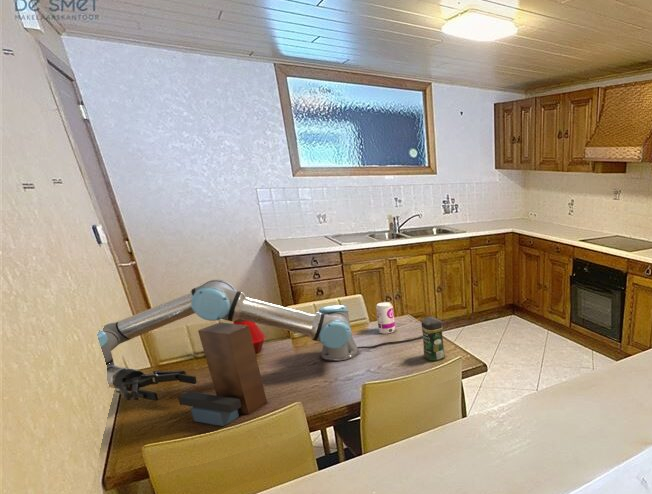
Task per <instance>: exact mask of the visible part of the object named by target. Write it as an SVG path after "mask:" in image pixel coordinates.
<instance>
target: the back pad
mask: <svg viewBox="0 0 652 494" xmlns="http://www.w3.org/2000/svg"><path fill="white" fill-rule="evenodd" d="M177 400H178V402H179V405H181V406H186V407H191V408H192V407H198V408H204V409H211V410H217V411H223V412H229V413H232V412H234V411H235V410H237V409H239V408H240V407H242V406H241V402H240V399H236V398H230V397H223V396H217V395H216V394H210V393H204V392H197V391H190V390H189V391H187V392H184V393H183V394H181V395H178V396H177Z"/></svg>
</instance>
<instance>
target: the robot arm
mask: <svg viewBox="0 0 652 494" xmlns="http://www.w3.org/2000/svg"><path fill="white" fill-rule="evenodd" d="M318 311H319V313H318V314H316V313H315V314H312V313H309V312H304V311H301V310H296V309H293V308H289V307H285V306H281V305H278V304H274V303H271V302H270V303H269V302H266V301H262V300H258V299H254V298H252V297H251V298H250V297H247V296H246V295H245V293H244V292H243V291H239V290H236V288H235V287H234V286H233V285H232V284H231V283H230V282H228V281H226V280H223V279H211V280H208V281H206V282H205V283H202V284H201V285H199V286H196V287H194V288H191V290H190V292H189V293H187V294H184V295H182V296H179V297H176V298H173V299H171V300H169V301H166V302H164V303H161V304H159V305H155V306H154V307H151V308H148V309H146V310H144V311H143V310H142V311H141V312H138V313H136V314H133V315H131V316H128V317H125V318H123V319H121V320H118V321H116V322H110V323H107V324H105V325H103V326H104V328H103V331H100V330H99V329H98V330H99V332H98V334H97V336H98V340H99V343H100V346H101V349H102V352H103V355H104V358H105V362H106V365H107V381H108V384H109V387H108V388H110V387H111V389H115V393H117V394H120V395H121V397H122V398H123V399H124V401H126V402H127V401H130V400H131V399H132V400H133V401H135V402H136V401H138V400H139V399H143V400H149V401H155V402H156V401H158V400H159V397H158V393H157V392H156V391H151V390H146V389H140V388H145V387H148V386H150V385H158V384H159V383H166V382H176V381H178V382H179V383H186V384H191V385H196V384H197V378H196V376H195V375H190V374H187V373H186V370H154V371H152V373H151V374H150V373H149V374H147V373H144V372H142V371H141V370H139V369H134V368H129V367H122V366H116V365H115V362H114V357H113V354H112V351H113V350H115V348H117V347H118V346H119V345H121V344H123V343H126V342H128V341H130V340H132V339H135V338H138V337H140V336H142V335H145V334H147V333H150V332H152V331H155V330H158V329H159V328H162V327H164V326H167V325H169V324H172V323H174V322H177V321H179V320H182V319H184V318H187V317H189V316H192V315H195V314H196V316H198V317H199V318H201V319H202V320H206V321H209V322H215V321H221V320H223V321H226V322H227V321H228V322H232V323H234V321H236V320H238V319H241V320H246V321H250V322H254V323H255V324H257V325H258V324H259V325H263V326H267V327H271V328H275V329H280V330H284V331H289V332H292V333H297V334H302V335H305V336H308V337H309V338H310V340H311V341H313V342H314V341H315V342H319V343H321V344H322V348H321V359H323V360H324V361H328V362H341V361H342V362H343V361H346V360H349V359H352V358H354V357H356V356H357V355H358V354H359V349H373V348H378V347H380V346H384V345H390V344H391V345H392V344H400V343H401V344H402V343H408V342H412V341H418V340H420V339H423V335H421V336H418V337H414V338H410V339H403V340H397V341H396V340H394V341H385V342H381V343H377V344H375V345H369V346H366V345H365V346H364V345H363V346H358V345H357V343H356V342H355V340H354V338H353V336H352V328H351V322H350V315H349V309H348V306H346V305H343V304H336V305H334V304H333V305H327V306H323V307H320V308H319V309H318ZM109 363H110V364H109Z"/></svg>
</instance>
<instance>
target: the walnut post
mask: <svg viewBox="0 0 652 494" xmlns="http://www.w3.org/2000/svg"><path fill="white" fill-rule="evenodd" d="M197 332H198V336H199V339H200V342H201V346H202V350H203V353H204V356H205V360H206V363H207V367H208V370H209V375H210V378H211V381H212V385H213V388H214V392H215V395H217V396H223V397H230V398H236V399H240V402H241V406H242V407H240V408H239V409H237V410H238V414H245V415H250V414H251V413H253V412H255V411H257V410H258V409H259V408H261V407H263V406H265V405H266V404H267V403H268V402H267V397H266V392H265V388H264V384H263V379H262V376H261V372H260V368H259V363H258V359H257V355H256V354H257V353H255V350H254V346H253V341H252V337H251V333H250V329H249V326H248V325H239V324H233V323H229V322H217V323H214V324H212V325H209V326H207V327H204V328H201V329H198V330H197Z"/></svg>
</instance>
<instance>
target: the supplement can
mask: <svg viewBox="0 0 652 494" xmlns="http://www.w3.org/2000/svg"><path fill="white" fill-rule="evenodd" d="M375 309H376V311H375V312H376V319H377V326H378V328H377V329H378V332H379V333H380V334H383V335H388V334H393V333H394V332H395V331H396V324H395V323H396V322H395V314H394V306H393V304H392V302H389V301H381V302H378V303H377V304H376V306H375Z"/></svg>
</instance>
